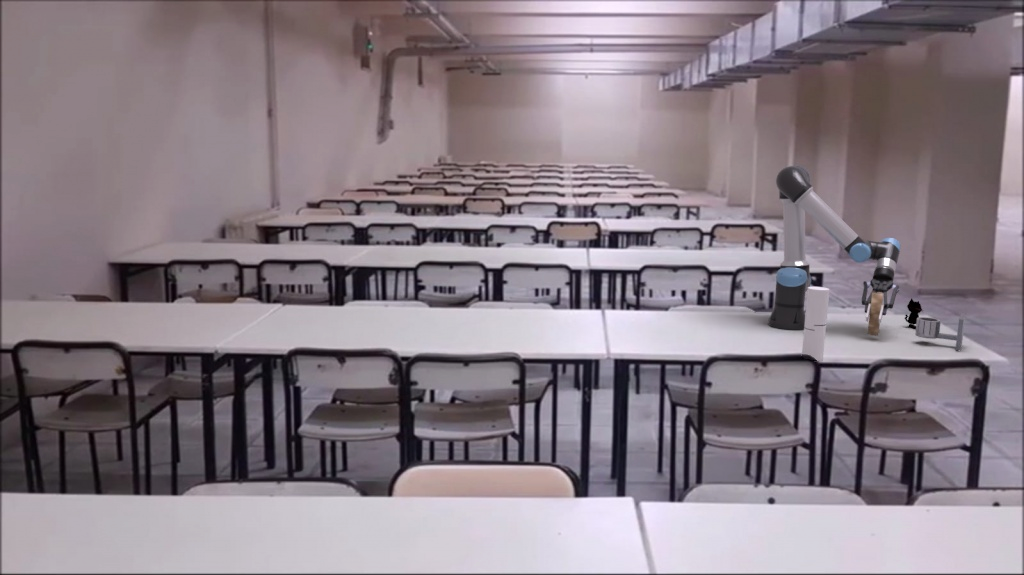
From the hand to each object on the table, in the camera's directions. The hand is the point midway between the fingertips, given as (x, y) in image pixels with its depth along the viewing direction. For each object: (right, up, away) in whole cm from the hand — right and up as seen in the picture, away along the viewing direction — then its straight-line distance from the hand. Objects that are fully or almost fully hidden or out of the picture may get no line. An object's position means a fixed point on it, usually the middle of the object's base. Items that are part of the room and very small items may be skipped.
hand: (873, 319), depth 347 cm
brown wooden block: (+2, -6, +4) cm, 7 cm away
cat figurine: (+27, -4, +28) cm, 39 cm away
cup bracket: (+23, -9, -3) cm, 25 cm away
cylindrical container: (-33, -13, -29) cm, 46 cm away
